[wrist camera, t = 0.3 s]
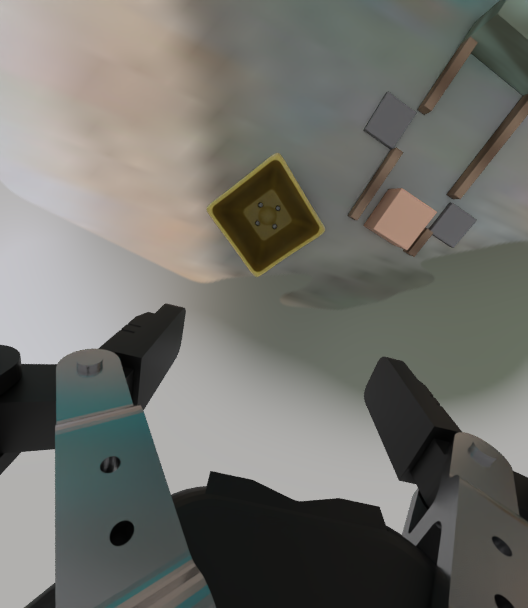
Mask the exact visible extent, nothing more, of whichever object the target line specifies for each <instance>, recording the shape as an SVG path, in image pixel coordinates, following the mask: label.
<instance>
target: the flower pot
mask: <svg viewBox="0 0 528 608" xmlns="http://www.w3.org/2000/svg"><path fill="white" fill-rule="evenodd" d="M259 203H262V204H263V206H262V207H259V206H258V204H259ZM277 206H279V207H280V210H279V211H277V210H276V207H277ZM207 212H208V214H209V215H210V217H211V218H212V220H213V221H214V222H215V224H216V225H217V226H218V228H219V229H220V230H221V232H222V233H223V234H224V236H225V237H226V238H227V240H228V241H229V242H230V244H231V245H232V247H233V248H234V249H235V251H236V252H237V253H238V255H239V256H240V258H241V259H242V261H243V262H244V263H245V265H246V266H247V268H248V269H249V270H250V272H251V273H252V274H253V275H254V276H256V277H259V276H261V275H262V274H264V273H265V272H267V271H268V270H269V269H271V268H272V267H274V266H275V265H277V264H278V263H279V262H281V261H282V260H284V259H285V258H286V257H288V256H290V255H291V254H293V253H294V252H296V251H297V250H299V249H300V248H302V247H303V246H305V245H307V244H308V243H310V242H311V241H313V240H314V239H316V238H318V237H319V236H320V235H322V234H323V233H324V232H325V227H324V225H323V224H322V222H321V220H320V219H319V217H318V216H317V214H316V212H315V211H314V209H313V207H312V206H311V204H310V202H309V201H308V199H307V197H306V196H305V194H304V192H303V191H302V189H301V187H300V186H299V184H298V182H297V181H296V179H295V177H294V176H293V174H292V172H291V170H290V169H289V167H288V165H287V164H286V162H285V160H284V159H283V157H282V156H281V154H279V153H275V154H273V155H272V156H270V157H269V158H268V159H267V160H265V161H264V162H263V163H262V164H260V165H259V166H258V167H257V168H255V169H254V170H253V171H252V172H250V173H249V174H248V175H247V176H245V177H244V178H243V179H241V180H240V181H239V182H238V183H237V184H235V185H234V186H233V187H231V188H230V189H229V190H227V191H226V192H225V193H224V194H222V195H221V196H219V197H218V198H217V199H216V200H214V201H213V202H212V203H211V204H210V205H209V206H208V207H207ZM256 221H259V222H260V224H259V225H256V224H255V223H256ZM273 224H276V225H277V227H276V228H275V229H274V228H273V227H272V226H273Z"/></svg>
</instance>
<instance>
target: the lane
mask: <svg viewBox="0 0 528 608" xmlns="http://www.w3.org/2000/svg"><path fill="white" fill-rule="evenodd" d="M471 53H472V54H473V55H474V56H475V57H477V58H478V59H479V60H480V61H481V62H483V63H484V64H485V65H486V66H488V67H489V68H490V69H491V70H492V71H494V72H495V73H496V74H497V75H499V76H500V77H501V78H502V79H503V80H505V81H506V82H507V83H508V84H510V85H511V86H512V87H513V88H514V89H516V90H517V91H518V92H519V93H521V94H522V95H523V97H522V98H521V99H520V100H519V102H518V103H517V104H516V106H515V107H514V108H513V109H512V111H511V112H510V113H509V115H508V116H507V117H506V119H505V120H504V121H503V122H502V124H501V125H500V126H499V128H498V129H497V130H496V131H495V133H494V134H493V135H492V137H491V138H490V139H489V140H488V142H487V143H486V144H485V146H484V147H483V148H482V149H481V151H480V152H479V153H478V155H477V156H476V157H475V159H474V160H473V161H472V162H471V164H470V165H469V166H468V168H467V169H466V170H465V171H464V173H463V174H462V175H461V177H460V178H459V179H458V180H457V182H456V183H455V184H454V186H453V187H452V188H451V190H450V191H449V192H448V193H447V195H448V196H449V197H451V198H452V199H461V198H462V196H463V195H464V194H465V193H466V191H467V190H468V189H469V188H470V186H471V185H472V184H473V183H474V181H475V180H476V179H477V178H478V176H479V175H480V174H481V173H482V171H483V170H484V169H485V168H486V166H487V165H488V164H489V163H490V161H491V160H492V159H493V158H494V156H495V155H496V154H497V153H498V151H499V150H500V149H501V148H502V146H503V145H504V144H505V143H506V141H507V140H508V139H509V138H510V136H511V135H512V134H513V133H514V131H515V130H516V129H517V128H518V126H519V125H520V124H521V122H522V121H523V120H524V119H525V117H526V116H527V115H528V0H500V1H499V2H498V3H496V4H495V5H494V6H493V7H492V8H491V9H490V10H489V11H487V12H486V13H485V14H484V15H483V16H482V17H481V18H479V19H478V20H477V21H476V22H475V23H474V25H473V26H472V28H471V29H470V31H469V32H468V34H467V35H466V37H465V38H464V40H463V42H462V43H461V45H460V46H459V48H458V49H457V51H456V52H455V54H454V55H453V57H452V58H451V60H450V61H449V63H448V64H447V66H446V67H445V69H444V70H443V72H442V73H441V75H440V76H439V78H438V79H437V81H436V82H435V84H434V85H433V87H432V88H431V90H430V92H429V93H428V95H427V96H426V98H425V99H424V101H423V102H422V104H421V105H420V107H419V108H418V111H420V112H421V113H422V114H424V115H425V114H427V113H429V112H431V111H432V110H433V108H434V107H435V105H436V104H437V102H438V101H439V99H440V98H441V96H442V95H443V93H444V92H445V90H446V89H447V87H448V86H449V84H450V83H451V82H452V80H453V79H454V77H455V76H456V74H457V73H458V71H459V70H460V68H461V67H462V65H463V64H464V62H465V61H466V59H467V58H468V56H469V55H470V54H471ZM402 154H403V152H402V151H401V150H399V149H398V148H394V149H392V150H391V151H390V152H389V154H388V155H387V157H386V158H385V160H384V161H383V163H382V164H381V166H380V167H379V169H378V170H377V172H376V173H375V175H374V176H373V178H372V179H371V181H370V182H369V184H368V185H367V187H366V188H365V190H364V191H363V193H362V194H361V196H360V198H359V199H358V201H357V202H356V204H355V205H354V207H353V208H352V210H351V211H350V213H349V214H348V216H349V217H351V218H352V219H354V220H358V219H359V217H360V216H361V214H362V213H363V211H364V210H365V208H366V207H367V205H368V204H369V202H370V201H371V199H372V198H373V197H374V195H375V194H376V192H377V191H378V189H379V188H380V186H381V185H382V183H383V182H384V180H385V179H386V177H387V176H388V174H389V173H390V171H391V170H392V169H393V167H394V166H395V164H396V163H397V161H398V160H399V158H400V157H401V155H402ZM432 234H433V232H432V231H430V230H429V229H427V228H424V229H423V231H422V232H421V233H420V235H419V236H418V237H417V238H416V240H415V241H414V242H413V244H412V245H411V246H410V247H409V249H408V250H405V249H404V250H403V251H404V252H406V253H407V254H409V255H411V256H413V257H415V255H416V254H417V253H418V252H419V250H420V249H421V248H422V247H423V245H424V244H425V243H426V242H427V240H428V239H429V238H430V237H431V235H432Z"/></svg>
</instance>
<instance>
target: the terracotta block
mask: <svg viewBox="0 0 528 608" xmlns="http://www.w3.org/2000/svg"><path fill="white" fill-rule="evenodd" d="M436 213H437V212H436V211H435V210H433V209H432V208H431V207H429V206H428V205H426V204H425V203H423V202H422V201H420V200H419V199H417V198H416V197H414V196H413V195H411V194H410V193H408V192H407V191H406V190H404V189H403V188H398V189H388V191H387V192H386V193H385V195H384V196H383V198H382V199H381V201H380V202H379V204H378V205H377V206H376V208H375V209H374V211H373V212H372V214H371V215H370V217H369V218H368V220H367V221H366V222H365V224H364V225H363V226H365V227H366V228H368V229H369V230H371V231H373V232H374V233H376V234H377V235H379V236H380V237H382V238H384V239H385V240H387V241H388V242H390V243H391V244H393V245H395V246H397V247H400V248H403V249H405V250H408V249H409V247H410V246H411V245H412V244H413V242H414V241H415V240H416V238H417V237H418V236H419V235H420V233H421V232H422V231H423V229H424V228H425V227H426V226H427V224H428V223H429V222H430V220H431V219H432V218H433V217H434V215H435V214H436Z"/></svg>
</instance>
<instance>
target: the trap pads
mask: <svg viewBox="0 0 528 608" xmlns="http://www.w3.org/2000/svg"><path fill="white" fill-rule="evenodd" d="M416 114H417V112H415V111H414V110H412V109H411V108H410V107H408V106H407V105H406V104H404V103H403V102H402V101H400V100H399V99H398V98H396V97H395V96H394V95H392V94H391V93H390V92H387V93H386V94H385V96H384V97H383V99H382V101H381V102H380V104H379V106H378V107H377V109H376V111H375V112H374V114H373V116H372V117H371V119H370V120H369V122H368V124H367V125H366V127H365V129H364V131H365V132H367V133H368V134H370V135H371V136H372V137H374V138H375V139H377V140H378V141H379V142H381V143H382V144H384V145H385V146H387V147H388V148H389V149H391V150H392V149H393V148H394V147H395V145H396V144H397V142H398V141H399V139H400V138H401V136H402V135H403V133H404V132H405V130H406V129H407V127H408V126H409V124H410V123H411V121H412V120H413V118H414V117H415V115H416ZM476 221H477V219H475V218H474V217H472V216H471V215H469V214H468V213H467V212H465V211H464V210H462V209H461V208H459V207H458V206H457V205H455V204H454V203H449V204H448V206H447V207H446V208H445V209H444V211H443V212H442V213H441V214H440V216H439V217H438V218H437V220H436V221H435V222H434V223H433V225H432V226H431V227H430V228H429V230H430V231H432V232H433V234H432V235H433V236H435V237H436V238H438V239H439V240H441V241H442V242H444V243H445V244H447V245H449V246H450V247H453V248H454V247H455V245H456V244H457V243H458V242H459V241H460V240H461V238H462V237H463V236H464V235H465V234H466V232H467V231H468V230H469V229H470V228H471V227H472V225H473V224H474V223H475V222H476Z"/></svg>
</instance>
